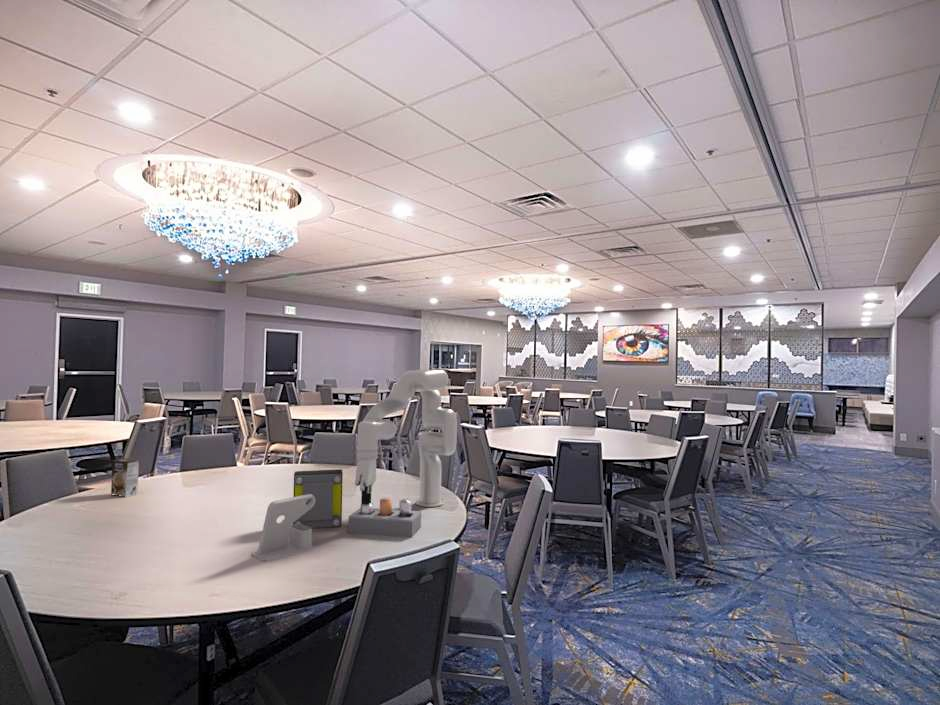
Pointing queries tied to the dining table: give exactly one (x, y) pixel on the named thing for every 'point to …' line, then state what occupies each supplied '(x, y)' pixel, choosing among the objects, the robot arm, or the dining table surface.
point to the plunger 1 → (366, 509)
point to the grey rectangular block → (385, 523)
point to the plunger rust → (386, 506)
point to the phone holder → (285, 529)
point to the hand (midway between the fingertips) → (366, 503)
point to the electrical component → (320, 497)
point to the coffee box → (124, 477)
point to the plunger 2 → (405, 508)
